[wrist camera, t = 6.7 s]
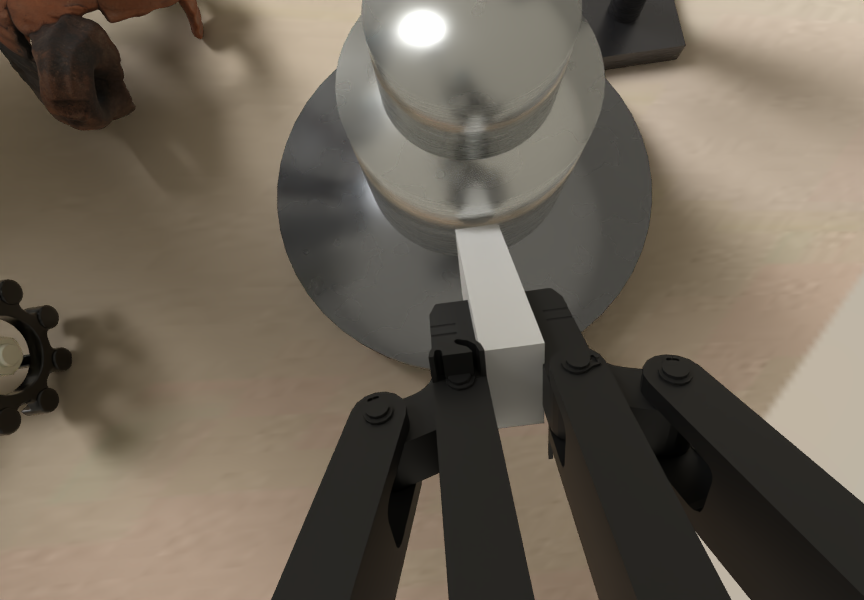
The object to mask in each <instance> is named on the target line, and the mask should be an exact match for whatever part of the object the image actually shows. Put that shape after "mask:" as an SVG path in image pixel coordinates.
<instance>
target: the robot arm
mask: <svg viewBox="0 0 864 600" xmlns="http://www.w3.org/2000/svg"><path fill="white" fill-rule="evenodd" d="M455 233H456V242H457V251H458V260H459V270H460V279H461V288H462V296H463V301H456V302H448V303H440V304H435V306H434V307H433V309H432V311H431V313H430V314H429V319H430V332H431V346H432V348H431V350H430V352H429V356H428V359H429V365H430V370H431V376H432V379H431V381H430V382H429V384H428V385H427V386H426V387H425V388H424V389H422V390H421V391H420V392H418V393H416V394H414V395H412V396H409V397H407V398H404V399H402V398H401V397H399V396H398V395H396V394H394V393H389V392H378V393H373V394H371V395H368V396H366V397H364V398H363V399H361V400H360V401H359V402H357V403H356V405H355V406H354V408H353V409H352V411H351V413H350V415H349V418H348V420H347V423H346V425H345V427H344V430H343V432H342V434H341V437H340V439H339V441H338V444H337V446H336V448H335V451H334V453H333V455H332V458H331V460H330V463H329V465H328V467H327V470H326V472H325V474H324V477H323V479H322V481H321V484H320V486H319V488H318V491H317V493H316V495H315V498H314V500H313V503H312V505H311V507H310V510H309V512H308V514H307V517H306V519H305V521H304V524H303V526H302V528H301V531H300V533H299V535H298V538H297V540H296V543H295V545H294V547H293V550H292V552H291V554H290V557H289V559H288V561H287V564H286V566H285V568H284V571H283V573H282V575H281V578H280V580H279V583H278V585H277V587H276V590H275V592H274V594H273V597H272V599H271V600H395V597H396V593H397V589H398V584H399V580H400V576H401V571H402V567H403V563H404V558H405V554H406V550H407V545H408V541H409V537H410V532H411V528H412V524H413V519H414V515H415V511H416V506H417V502H418V498H419V493H420V489H421V485H422V480H424V479H426V478H429V477H431V476H433V475H435V474H438V473H439V474H440V487H441V501H442V514H443V527H444V541H445V554H446V567H447V581H448V594H449V600H535V599H534V594H533V590H532V585H531V580H530V576H529V571H528V566H527V562H526V557H525V552H524V548H523V543H522V538H521V534H520V529H519V524H518V520H517V515H516V510H515V506H514V501H513V496H512V492H511V487H510V482H509V478H508V473H507V468H506V464H505V459H504V454H503V450H502V445H501V440H500V436H499V431H498V429H499V428H507V427H515V426H523V425H531V424H539V423H544V411H545V414H546V417H547V420H548V424H549V434H548V456H549V459H553V454H554V457H555V461H556V464H557V467H558V470H559V473H560V477H561V480H562V483H563V486H564V489H565V492H566V496H567V499H568V502H569V505H570V508H571V512H572V515H573V518H574V521H575V524H576V528H577V531H578V534H579V537H580V540H581V544H582V547H583V550H584V553H585V556H586V560H587V563H588V566H589V569H590V572H591V575H592V579H593V582H594V585H595V588H596V591H597V595H598V598H599V600H731V598H730V596H729V594H728V593H727V591H726V589H725V587H724V585H723V583H722V581H721V580H720V577H719V575H718V573H717V572H716V570H715V568H714V566H713V564H712V562H711V560H710V558H709V556H708V555H707V553H706V551H705V549H704V547H703V545H702V543H701V541H700V539H699V538H698V536H697V534H698V535H699V536H700V538H701V539H702V540H703V541H704V543H705V544H706V545H707V546H708V548H709V549H710V550H711V551H712V552H713V554H714V555H715V556H716V557H717V559H718V560H719V561H720V562H721V563H722V565H723V566H724V567H725V569H726V570H727V571H728V572H729V573H730V575H731V576H732V577H733V578H734V580H735V581H736V582H737V583H738V585H739V586H740V587H741V588H742V590H743V591H744V592H745V593H746V595H747V596H748V597H749V598H750V599H751V600H864V504H863V503H862V502H861V501H860V500H859V499H858V498H856V497H855V496H854V495H853V494H852V493H850V492H849V491H848V490H847V489H846V488H844V487H843V486H842V485H841V484H840V483H839V482H837V481H836V480H835V479H834V478H833V477H831V476H830V475H829V474H828V473H827V472H825V471H824V470H823V469H822V468H821V467H820V466H818V465H817V464H816V463H815V462H814V461H812V460H811V459H810V458H809V457H808V456H806V455H805V454H804V453H803V452H802V451H800V450H799V449H798V448H797V447H796V446H794V445H793V444H792V443H791V442H790V441H789V440H787V439H786V438H785V437H784V436H783V435H781V434H780V433H779V432H778V431H777V430H775V429H774V428H773V427H772V426H771V425H769V424H768V423H767V422H766V421H765V420H764V419H762V418H761V417H760V416H759V415H758V414H756V413H755V412H754V411H753V410H752V409H750V408H749V407H748V406H747V405H746V404H744V403H743V402H742V401H741V400H740V399H739V398H737V397H736V396H735V395H734V394H733V393H731V392H730V391H729V390H728V389H727V388H725V387H724V386H723V385H722V384H721V383H719V382H718V381H717V380H716V379H715V378H714V377H712V376H711V375H710V374H709V373H708V372H706V371H705V370H704V369H703V368H702V367H700V366H699V365H698V364H696V363H694V362H693V361H691V360H690V359H686V358H683V357H680V356H676V355H659V356H654V357H653V358H651V359H649V360H647V361H646V363H645V364H644V366H643V369H636V368H626V367H619V366H614V365H611V364H608V363H606V361H605V360H604V359H603V358H602V356H601V355H600V354H598V353H596V352H595V351H593V350H591V349H589V347H588V345H587V343H586V341H585V339H584V338H583V336H582V334H581V332H580V330H579V328H578V326H577V324H576V322H575V320H574V318H573V317H572V314H571V312H570V310H569V309H568V306H567V304H566V302H565V300H564V298H563V296H562V295H560V294H559V293H557V292H556V291H555V290H553V289H552V288H545V289H538V290H530V291H524V289H523V286H522V284H521V281H520V278H519V276H518V273H517V271H516V268H515V266H514V263H513V261H512V258H511V255H510V253H509V250H508V248H507V245H506V243H505V240H504V238H503V235H502V232H501V230H500V227H499V225H498V224H492V225H485V226H477V227H470V228H463V229H455ZM695 531H696V532H695ZM696 533H697V534H696Z"/></svg>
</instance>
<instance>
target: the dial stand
mask: <svg viewBox="0 0 864 600" xmlns="http://www.w3.org/2000/svg"><path fill="white" fill-rule="evenodd" d="M582 15H583V16H584V18H585V19H586V20H587V22H588V24H589V25H590V27H591V29H592V31H593V33H594V34H595V37H596V39H597V42H598V44H599V47H600V50H601V54H602V59H603V63H604V70H605V69H612V68H619V67H626V66H633V65H640V64H647V63H654V62H660V61H667V60H674V59H677V57H678V56H679V54H680V53H681V51H682V50H683V48H684V47H685V41H684V37H683V34H682V30H681V26H680V22H679V18H678V14H677V10H676V7H675V3H674V0H582Z"/></svg>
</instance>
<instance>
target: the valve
mask: <svg viewBox="0 0 864 600" xmlns="http://www.w3.org/2000/svg"><path fill="white" fill-rule="evenodd" d="M22 297H23V291H22V288H21V286H20V285H19V284H18V283H17V282H15V281H13V280H9V279H7V280H0V319H1V320H4V321H6V322H8V323H10V324H11V325H13V326H14V327H15V328H16V329H17V330H18V331H20V333H21V334H22V335H23V337H24V338H25V340H26V342H27V345H28V348H29V353H30V354H29V355H23V354H22V350H21V348H20V346H19V344H18V343H17V341H16V340H15V339H14V338H9V337H0V377H2V376H8V375H14V373H15V372H16V371H17V370H18V369H22V368H29V370H28V373H27V376H26V378H25V380H24V381H23V383H22V384H21V385H20V386H19V387H18V388H17V389H15V390H14V391H13V392H11V393H9V394H7V395H0V436H4V435H10V434H12V433H14V432H15V431H17V429H18V428H19V426H20V424H21V416H20V413H19V412H18V411H17V410H18V408H19V407H20V406H21V405H23V404H25V403H26V404H28V405H27V406H26V407H25V408H24V409H23V410H22V411H21V412H22V413H23V414H25V415H28V416H31V415H37V414H43V413H49V412H52V411H54V410H55V409H56V408H57V406H58V403H59V396H58V394H57V392H56V391H55V390H54V389H52V388H48V386H47V379H48V376H49V373H52V372H58V371H64V370H67V369H68V368H70V366H71V364H72V355H71V353H70V351H69V350H68V349H66V348H63V347H60V348H52V347H51V346H50V343H49V340H48V337H47V331H48V330H49V329H52V328H54V327H55V326H56V325H57V324H58V321H59V315H58V313H57V311H56V309H55V308H53V307H52V306H49V305H44V306H38V307H32V308H27V309H25V310H23V309H22V308H21V307H20V305H19V302H20V301H21V300H22Z"/></svg>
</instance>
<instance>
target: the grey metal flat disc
mask: <svg viewBox="0 0 864 600" xmlns="http://www.w3.org/2000/svg"><path fill="white" fill-rule="evenodd" d="M336 71H337V69H336V70H335V71H334V72H333V73H332V74H331V75H330V76H329V77H328V78H327V79H326V80H325V81H324V82H323V83H322V84H321V85H320V86H319V87H318V89H317V90H316V91H315V93H314V94H313V95H312V97H311V98H310V99H309V100H308V102H307V103H306V105H305V106H304V108H303V110H302V112H301V113H300V115H299V117H298V118H297V120H296V122H295V124H294V126H293V129H292V131H291V133H290V136H289V138H288V140H287V143H286V146H285V150H284V153H283V157H282V161H281V165H280V172H279V179H278V186H277V209H278V217H279V224H280V231H281V235H282V238H283V242H284V246H285V249H286V253H287V255H288V257H289V260H290V262H291V264H292V267H293V269H294V271H295V273H296V275H297V277H298V279H299V280H300V282H301V284H302V285H303V287H304V288H305V290H306V292H307V293H308V295H309V296H310V297H311V299H312V300H313V301H314V302H315V303H316V305H317V306H318V307H319V308H320V309H321V311H322V312H323V313H324V314H325V315H326V316H327V317H328V318H329V319H330V320H332V321H333V322H334V323H335V324H336V325H337V326H338V327H339V328H340V329H341V330H343V331H344V332H345V333H347V334H348V335H350V336H351V337H353V338H354V339H356V340H357V341H358V342H360V343H361V344H363V345H365V346H367V347H369V348H371V349H373V350H375V351H377V352H379V353H381V354H383V355H384V356H387V357H389V358H391V359H393V360H396V361H399V362H402V363H405V364H408V365H411V366H413V367H418V368H423V369H428V370H430V365H429V359H428V356H429V352H430V350H431V348H432V346H431V332H430V319H429V314H430V313H431V311H432V309H433V307H434V306H435V304H440V303H448V302H456V301H463V296H462V288H461V279H460V270H459V260H458V256H451V255H445V254H441V253H436V252H433V251H430V250H428V249H425V248H423V247H420V246H419V245H417V244H415V243H413V242H411V241H410V240H408V239H407V238H405V237H404V236H403V235H401V234H400V233H399V232H398V231H397V230H396V229H395V228H394V227H393V226H392V225H391V224H390V223H389V222H388V221H387V219H386V218H385V217H384V215H383V214H382V212H381V211H380V209H379V207H378V205H377V203H376V201H375V199H374V197H373V194H372V192H371V190H370V187H369V185H368V183H367V180H366V178H365V176H364V174H363V171H362V169H361V167H360V164H359V162H358V160H357V157H356V155H355V153H354V151H353V148H352V146H351V144H350V141H349V139H348V137H347V134H346V132H345V130H344V127H343V125H342V122H341V120H340V116H339V112H338V108H337V102H336V92H335V83H336ZM651 206H652V179H651V173H650V167H649V160H648V155H647V152H646V149H645V146H644V142H643V139H642V136H641V133H640V131H639V129H638V127H637V125H636V122H635V120H634V118H633V116H632V114H631V112H630V111H629V109H628V108H627V106H626V104H625V103H624V101H623V100H622V98H621V97H620V95H619V94H618V93H617V91H616V90H615V89H614V88H613V87H612V86H611V84H610V83H609V82H608V81H607V80H606V78H605V88H604V99H603V103H602V107H601V112H600V115H599V117H598V120H597V122H596V125H595V128H594V130H593V132H592V134H591V135H590V137H589V139H588V141H587V143H586V145H585V147H584V149H583V151H582V153H581V155H580V157H579V159H578V160H577V162H576V164H575V166H574V168H573V170H572V172H571V174H570V176H569V178H568V180H567V182H566V184H565V185H564V187H563V189H562V191H561V193H560V195H559V197H558V199H557V201H556V203H555V204H554V206H553V208H552V210H551V211H550V213H549V214H548V216H547V217H546V218H545V220H544V221H543V222H542V223H541V224H540V225H539V226H538V227H537V228H536V229H535V230H534V231H533V232H532V233H531V234H529V235H528V236H527V237H525V238H524V239H523V240H521V241H519V242H517V243H516V244H514V245H512V246H510V247H508V250H509V253H510V255H511V258H512V261H513V263H514V266H515V268H516V271H517V273H518V276H519V278H520V281H521V284H522V286H523V289H524V291H530V290H538V289H545V288H552V289H553V290H555V291H556V292H557V293H559V294H560V295H562V296H563V298H564V300H565V302H566V304H567V306H568V309H569V310H570V312H571V314H572V317H573V318H574V320H575V322H576V324H577V326H578V328H579V330H580V332H582V331H583V330H585V329H586V328H587V327H588V326H589V325H590V324H591V323H592V322H593V321H595V320H596V319H597V318H598V317H599V316H600V315H601V314H602V313H603V312H604V311H605V310H606V309H607V307H608V306H609V305H610V304H611V303H612V302H613V300H614V299H615V298H616V297H617V296H618V294H619V293H620V291H621V290H622V288H623V287H624V285H625V283H626V282H627V280H628V279H629V277H630V275H631V274H632V272H633V270H634V268H635V265H636V263H637V261H638V259H639V256H640V254H641V252H642V249H643V246H644V242H645V239H646V235H647V231H648V228H649V221H650V214H651Z"/></svg>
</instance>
